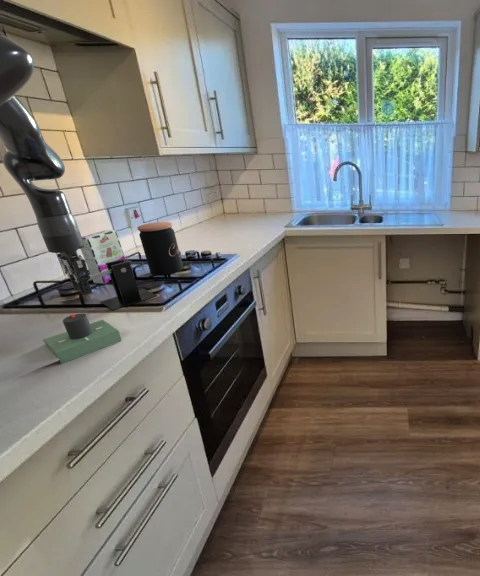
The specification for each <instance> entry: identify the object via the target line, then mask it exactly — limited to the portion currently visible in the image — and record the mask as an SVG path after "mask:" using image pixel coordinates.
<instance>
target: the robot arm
mask: <svg viewBox="0 0 480 576" xmlns="http://www.w3.org/2000/svg"><path fill="white" fill-rule="evenodd" d="M34 62H35V61H34V59H33V57H32V55H31V54H30V53H29V52H28V51H27V50H26V49H25V48H24V47H23V46H22V45H20V44H19V43H17V42H16V41H15V40H13V39H11V38H10V37H8V36H7V35H5V34H4V33H3V32H1V31H0V141H1V143H2V144H3V147H4V148H5V149H6V150H7V151H5V152H4V154H3V156H2V164H3V166H4V168H5V170H6V171H7V173H8V174H9V175H10V176H11V177H12V178H13V180H14V181H15V182H16V183H17V185H18V186H19V188H21V190H22V192H23V193H24V194H25V196H26V197H27V200H28V201H29V204H30V206H31V208H32V211H33V214H34V215H35V218H36V222H37V223H36V224H37V226H38V230H39V231H40V234H41V237H42V240H43V243H44V244H45V246H46V249H47V251H48V252H49V253H52V254H57V255H56V256H57V258H58V260H59V262H60V264H61V267H62V269H63V271H64V274H65V275H66V276H67V277H68V278H69V279H70V281H71V283H72V286H73V289H74V290H75V291H80V294H81V295H82V296H87V295H90V294H93V290H92V288H91V284H90V283H89V281H88V280H89V279H90V272H89V269H88V267H87V264H86V262H85V259H84V257H82V256H83V255H81V254H79V253H78V250H81V248H83V247H84V242H83V239H82V237H83V236H82V234H81V230H80V229H79V226H78V223H77V220H76V219H75V217H74V215H73V213H72V209H71V208H70V204H69V202H68V199H67V197H66V194H65V193H64V192H63V190H59V189H51V188H43V187H39V186H37V185H36V184H35V183H33V181H34V182H36V181H47V180H48V181H51V180H58V179H61V178H62V177H63V176H64V175H65V172H66V168H65V163H64V161H63V160H62V159H61V157H60V155H58V153H57V152H56V151H55V150H54V149H53V148H52V147H51V146H50V145H49V144H48V143H47V142H46V140H45V139H44V136H43V134H42V131H41V129H40V126H39V124H38V122H37V121H36V119H35V118H34V116H33V115H32V113H31V112H30V111H29V109H28V108H27V107H26V106H25V105H24V103H23V102H22V101H21V100H20V98H18V97H17V94H18V93H19V92H20V91H21V90H22V89H23V88H24V87H25V86H26V85H27V84H28V82H29V81H30V80H31V78H32V75H33V73H34V70H35V69H34V68H35V63H34ZM81 275H82V276H81ZM74 278H75V279H76V282H77V283H78V284H77V283H75V282H74V281H73V279H74Z"/></svg>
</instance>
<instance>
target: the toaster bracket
mask: <svg viewBox="0 0 480 576" xmlns="http://www.w3.org/2000/svg"><path fill="white" fill-rule="evenodd" d="M121 262H122V263H121ZM118 263H119V264H118ZM114 264H115V265H114ZM106 266H107V269H108V270H109V269H112V270H113V273H111V274H110V277H111V280H112V281H111V283H112V286H113V289H114V291H115V295H116V296H115V297H111V298H108V299H105V300H102V301H100V304H102V305H104V306H105V307H107V308H109V309H110V310H111V311H117V310H119V309H123V308H126V307H128V306H132V305H135V304H138V303H141V302H144V301H147V300H150V299H154V298H156V297H158V294H155V293H154V292H151V291H149V290H147V289H145V288H141V289H139V288H138V285H137V281H136V279H135V275H134V271H133V269H132V265H131V262H130V261H126V262H124V260H123V259H121V260H116V261H112V262H108V263H106Z"/></svg>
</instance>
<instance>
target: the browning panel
mask: <svg viewBox="0 0 480 576" xmlns="http://www.w3.org/2000/svg"><path fill="white" fill-rule="evenodd" d="M90 326H91V328H92V331H93V332H92V333H91V334H90V335H88V336H86V337H83V338H79V339H70V338H69V335H68V333H67V331H64V332H61V333H57V334H55V335H52V336H49V337H46V338H44V339H42V340H43V342H44V345H45V346H46V347H47V348H48V349H49V351H51V353H52V354H53V355H55V357H56V358H57V359H58V363H59V364H60V365H63V364H65V363H68V362H70V361H73V360H75V359H78V358H80V357H81V358H82V357H83V356H86V355H88V354H91V353H93V352H96V351H99V350H101V349H104V348H107V347H109V346H112V345H114V344H117V343H119V342H122V337H121V334H120V331H119V329H117V328H116V327H114V326H113V325H111V324H110V323H109V322H107V321H105V320H104V319H99V320H97V321H94V322H91V323H90Z"/></svg>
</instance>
